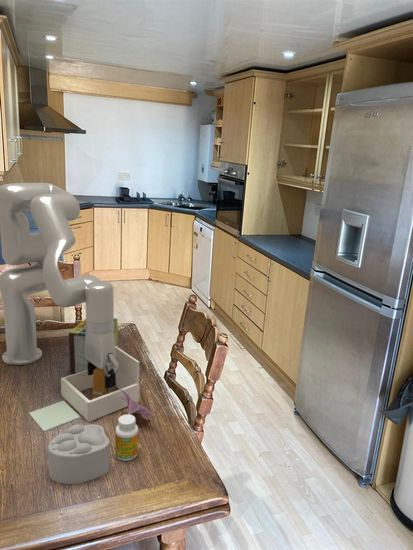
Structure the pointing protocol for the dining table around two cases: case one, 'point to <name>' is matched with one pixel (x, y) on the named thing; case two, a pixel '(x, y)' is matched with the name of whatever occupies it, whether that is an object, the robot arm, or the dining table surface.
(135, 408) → the lily
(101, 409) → the carton
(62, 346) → the dining table surface
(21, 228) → the robot arm
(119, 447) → the supplement bottle
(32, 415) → the mat
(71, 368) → the protein box
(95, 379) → the supplement box
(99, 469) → the lumpy-topped squat cylinder
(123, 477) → the dining table surface
